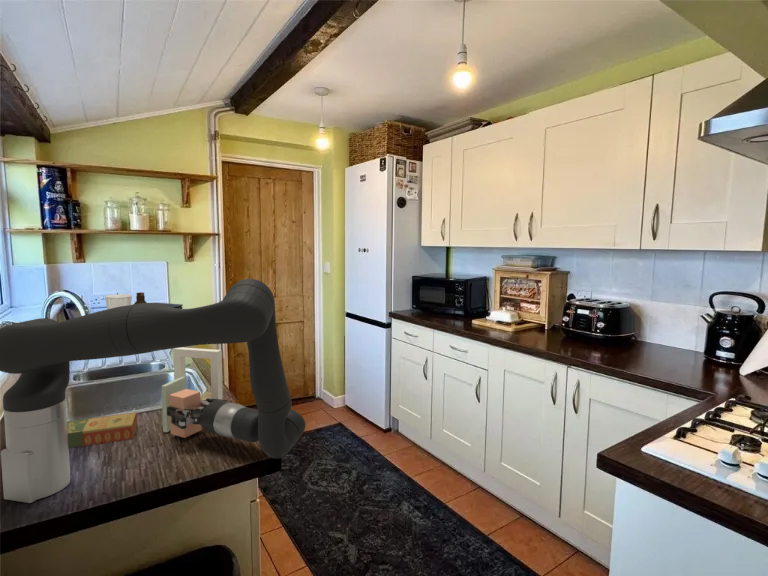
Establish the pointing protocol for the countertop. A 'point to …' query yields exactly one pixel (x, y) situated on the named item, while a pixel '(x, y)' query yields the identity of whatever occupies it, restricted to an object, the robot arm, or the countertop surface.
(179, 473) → the countertop surface
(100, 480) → the countertop surface
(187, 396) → the block
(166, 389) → the door
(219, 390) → the door frame
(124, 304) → the cup
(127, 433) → the carton
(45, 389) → the robot arm
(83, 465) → the countertop surface
